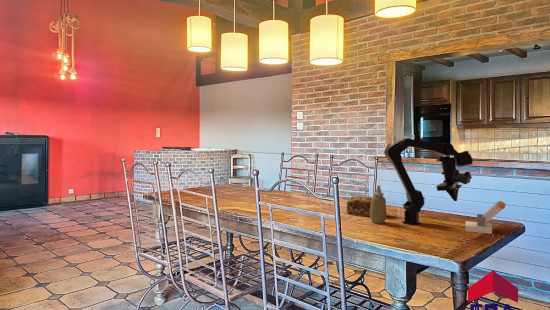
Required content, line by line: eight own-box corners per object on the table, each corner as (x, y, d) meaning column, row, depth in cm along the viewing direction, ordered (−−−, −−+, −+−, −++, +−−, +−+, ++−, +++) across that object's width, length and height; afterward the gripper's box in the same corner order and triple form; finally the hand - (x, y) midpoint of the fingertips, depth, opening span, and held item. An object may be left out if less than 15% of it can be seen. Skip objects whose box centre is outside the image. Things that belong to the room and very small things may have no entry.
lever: (476, 221, 163) (500, 200, 159) (475, 219, 168) (500, 198, 163) (483, 227, 162) (508, 206, 157) (482, 225, 166) (506, 204, 162)
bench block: (465, 231, 163) (466, 216, 163) (465, 226, 172) (466, 212, 172) (491, 233, 158) (492, 218, 158) (490, 229, 167) (490, 214, 167)
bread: (386, 215, 198) (386, 196, 198) (379, 218, 189) (380, 199, 189) (353, 211, 208) (353, 193, 208) (345, 214, 200) (345, 196, 199)
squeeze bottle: (377, 224, 175) (378, 186, 174) (365, 221, 182) (366, 185, 181) (390, 223, 178) (390, 185, 178) (378, 219, 186) (379, 184, 185)
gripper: (456, 172, 164) (463, 206, 165) (475, 163, 175) (481, 195, 176) (433, 173, 173) (439, 206, 174) (452, 165, 184) (458, 196, 185)
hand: (455, 200), depth 177 cm, fingers closed
